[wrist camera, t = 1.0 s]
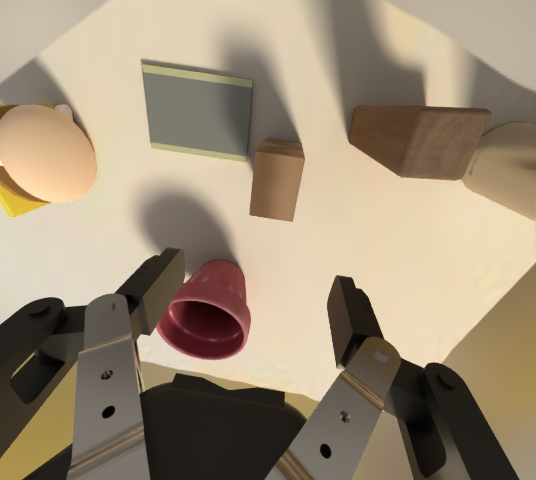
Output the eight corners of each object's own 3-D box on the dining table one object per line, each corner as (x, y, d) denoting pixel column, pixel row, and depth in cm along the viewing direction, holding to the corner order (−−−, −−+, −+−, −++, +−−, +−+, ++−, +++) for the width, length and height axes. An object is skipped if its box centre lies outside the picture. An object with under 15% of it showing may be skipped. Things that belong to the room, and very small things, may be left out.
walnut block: (301, 143, 33) (304, 158, 23) (292, 191, 36) (292, 221, 27) (266, 138, 33) (255, 151, 24) (260, 186, 37) (249, 215, 27)
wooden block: (427, 108, 30) (576, 112, 14) (415, 146, 32) (532, 186, 16) (354, 105, 30) (420, 106, 15) (347, 143, 32) (397, 178, 17)
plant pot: (205, 309, 51) (181, 366, 40) (173, 257, 45) (134, 307, 34) (268, 298, 48) (260, 356, 37) (242, 240, 42) (224, 289, 31)
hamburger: (118, 187, 39) (54, 217, 29) (71, 187, 40) (-7, 217, 29) (88, 103, 33) (-6, 102, 23) (34, 106, 34) (-80, 106, 23)
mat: (252, 80, 30) (252, 79, 29) (246, 161, 35) (245, 162, 34) (144, 64, 30) (141, 64, 30) (153, 147, 35) (151, 148, 35)
